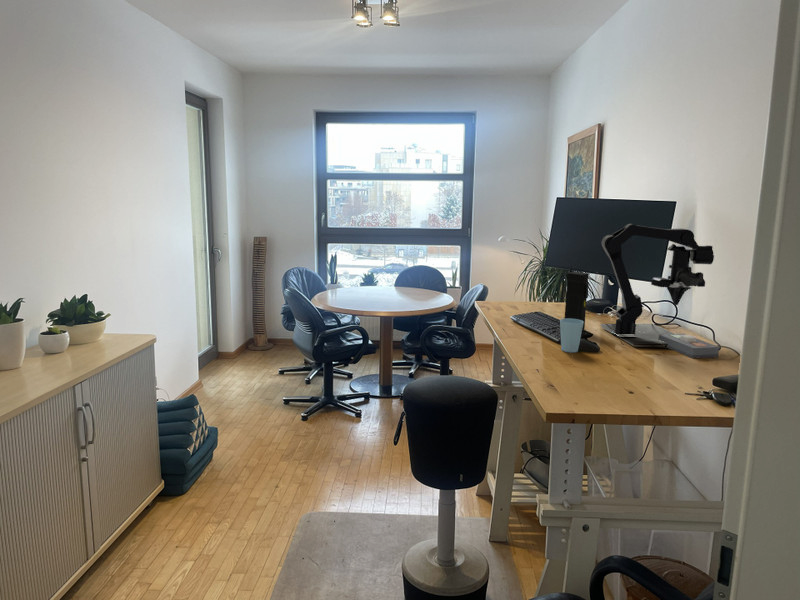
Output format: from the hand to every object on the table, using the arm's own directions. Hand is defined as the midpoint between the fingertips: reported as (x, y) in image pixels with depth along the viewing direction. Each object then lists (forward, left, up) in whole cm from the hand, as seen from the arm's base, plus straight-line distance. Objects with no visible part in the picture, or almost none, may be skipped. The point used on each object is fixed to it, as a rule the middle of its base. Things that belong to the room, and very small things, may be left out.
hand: (675, 305), depth 215 cm
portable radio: (-30, +18, -13) cm, 37 cm away
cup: (-47, -10, -13) cm, 50 cm away
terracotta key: (-5, -20, -12) cm, 24 cm away
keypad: (-5, -15, -13) cm, 20 cm away
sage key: (-5, -10, -12) cm, 16 cm away
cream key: (-5, -15, -10) cm, 19 cm away
